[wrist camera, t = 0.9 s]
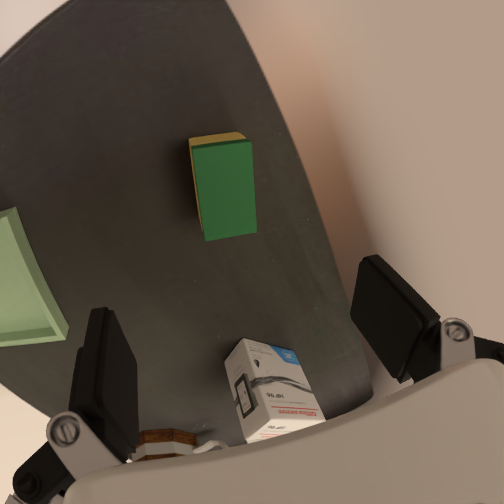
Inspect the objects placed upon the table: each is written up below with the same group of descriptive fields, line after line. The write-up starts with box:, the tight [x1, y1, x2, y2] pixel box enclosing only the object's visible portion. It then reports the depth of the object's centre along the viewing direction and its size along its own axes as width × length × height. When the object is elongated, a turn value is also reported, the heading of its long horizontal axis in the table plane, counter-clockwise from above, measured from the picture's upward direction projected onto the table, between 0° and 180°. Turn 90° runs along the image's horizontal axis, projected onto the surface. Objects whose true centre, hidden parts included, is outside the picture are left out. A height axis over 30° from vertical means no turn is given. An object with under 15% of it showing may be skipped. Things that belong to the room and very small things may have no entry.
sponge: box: [189, 132, 257, 241], centre depth 23 cm, size 7×4×4 cm, turn 3°
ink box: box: [224, 338, 326, 444], centre depth 32 cm, size 8×5×15 cm, turn 57°
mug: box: [132, 429, 229, 462], centre depth 40 cm, size 20×14×15 cm
